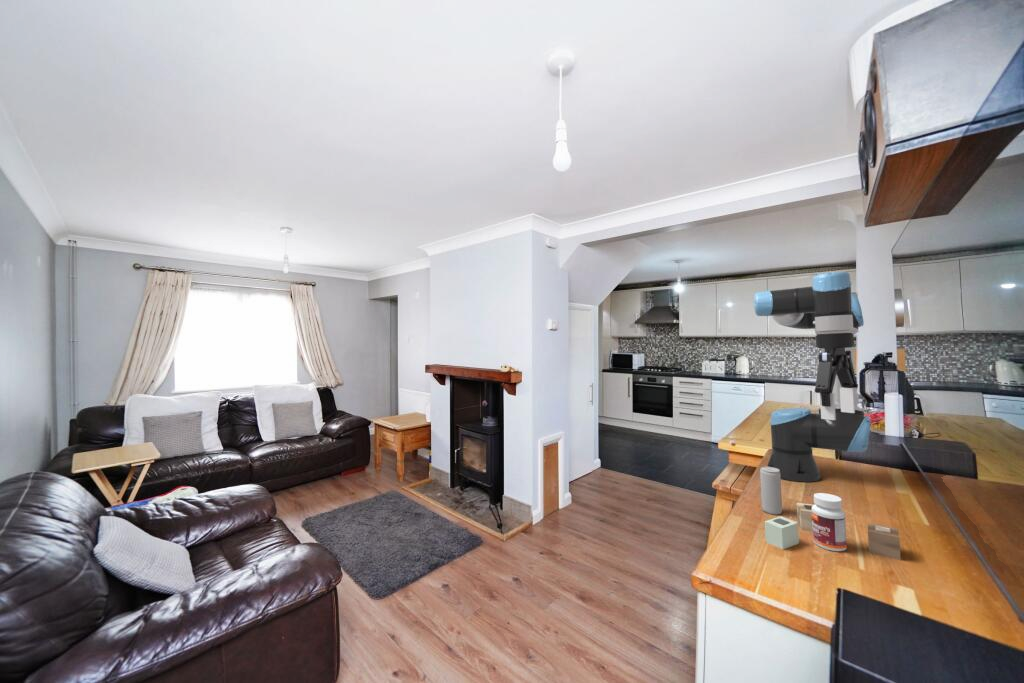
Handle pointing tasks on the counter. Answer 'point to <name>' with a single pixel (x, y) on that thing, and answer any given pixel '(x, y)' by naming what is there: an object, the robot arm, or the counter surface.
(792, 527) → the sage block
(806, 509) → the beech block
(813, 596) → the counter surface
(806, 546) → the counter surface
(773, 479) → the beverage can
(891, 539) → the walnut block
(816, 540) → the pill bottle
